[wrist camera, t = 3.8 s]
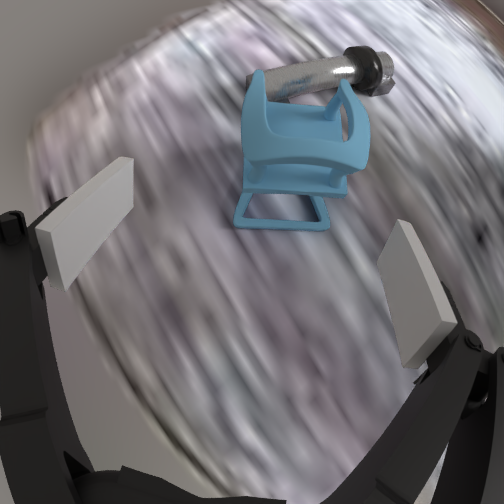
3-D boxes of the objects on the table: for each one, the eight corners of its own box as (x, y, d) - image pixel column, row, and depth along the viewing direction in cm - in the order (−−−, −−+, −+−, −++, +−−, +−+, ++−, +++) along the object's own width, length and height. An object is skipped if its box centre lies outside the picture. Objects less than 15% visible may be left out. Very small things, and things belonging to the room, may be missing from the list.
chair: (323, 142, 27) (369, 55, 15) (327, 232, 25) (393, 181, 14) (237, 137, 26) (237, 40, 15) (233, 228, 25) (228, 169, 13)
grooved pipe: (367, 62, 28) (381, 35, 24) (388, 94, 28) (407, 68, 23) (245, 87, 27) (246, 55, 22) (264, 124, 27) (268, 93, 22)
